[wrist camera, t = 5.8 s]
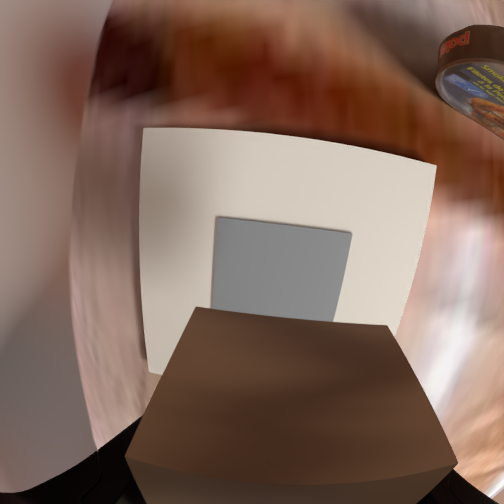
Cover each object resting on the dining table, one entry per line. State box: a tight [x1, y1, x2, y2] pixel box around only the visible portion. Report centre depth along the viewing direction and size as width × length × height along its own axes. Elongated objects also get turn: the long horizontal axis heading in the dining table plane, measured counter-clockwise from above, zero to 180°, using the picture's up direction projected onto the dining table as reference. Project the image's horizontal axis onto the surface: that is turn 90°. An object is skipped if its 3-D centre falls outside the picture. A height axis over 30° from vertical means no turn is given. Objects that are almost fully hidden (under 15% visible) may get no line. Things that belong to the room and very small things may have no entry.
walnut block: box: [125, 306, 458, 504], centre depth 6 cm, size 6×6×5 cm
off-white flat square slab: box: [139, 128, 436, 375], centre depth 17 cm, size 16×16×1 cm
